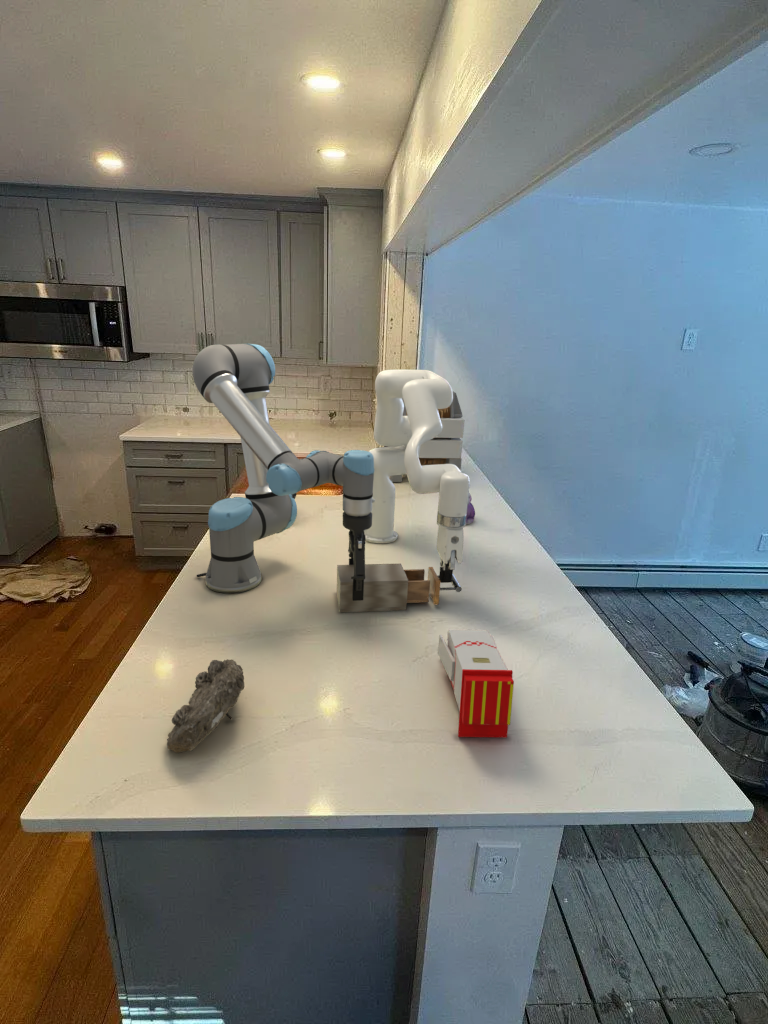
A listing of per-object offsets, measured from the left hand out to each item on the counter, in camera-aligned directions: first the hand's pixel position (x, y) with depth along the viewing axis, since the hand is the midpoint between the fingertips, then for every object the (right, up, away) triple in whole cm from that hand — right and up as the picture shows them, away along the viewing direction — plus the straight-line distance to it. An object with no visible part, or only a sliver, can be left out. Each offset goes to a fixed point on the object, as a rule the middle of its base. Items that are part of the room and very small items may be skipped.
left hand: (355, 589), depth 151 cm
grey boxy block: (+4, -3, +2) cm, 6 cm away
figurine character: (-29, +19, +60) cm, 69 cm away
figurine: (+38, +17, +63) cm, 76 cm away
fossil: (-25, -18, -43) cm, 53 cm away
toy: (+25, -17, -33) cm, 45 cm away
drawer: (+16, -2, +4) cm, 17 cm away
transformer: (+25, +40, +124) cm, 132 cm away
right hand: (+24, +2, +4) cm, 25 cm away
